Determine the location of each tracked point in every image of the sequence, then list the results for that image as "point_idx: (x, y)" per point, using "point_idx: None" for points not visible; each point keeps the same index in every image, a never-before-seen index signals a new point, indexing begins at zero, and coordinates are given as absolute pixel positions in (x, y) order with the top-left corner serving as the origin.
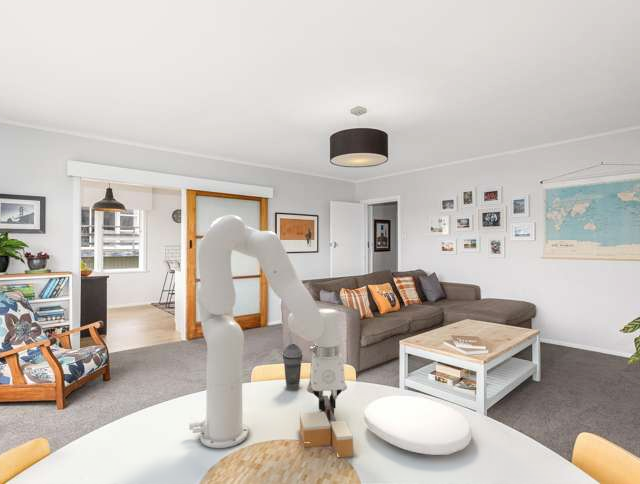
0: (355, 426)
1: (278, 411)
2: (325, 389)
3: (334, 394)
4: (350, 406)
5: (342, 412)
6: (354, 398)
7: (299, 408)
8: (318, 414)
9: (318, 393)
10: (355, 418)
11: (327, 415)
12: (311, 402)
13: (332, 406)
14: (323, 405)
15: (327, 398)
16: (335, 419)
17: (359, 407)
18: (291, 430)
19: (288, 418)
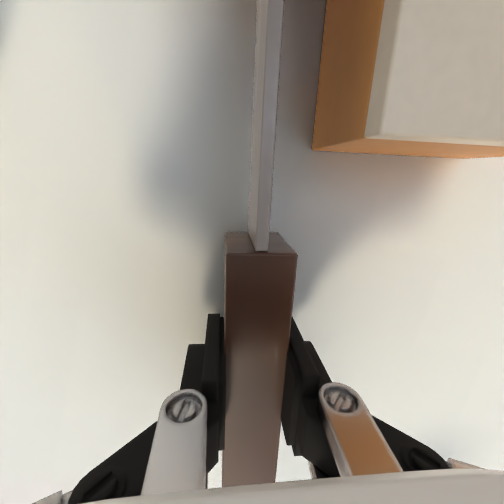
0: (79, 145)
1: (476, 393)
2: (370, 496)
3: (185, 437)
4: (73, 410)
5: (140, 347)
6: (32, 493)
7: (370, 412)
8: (475, 66)
9: (384, 456)
10: (62, 260)
11: (280, 241)
12: (292, 463)
13: (227, 311)
14: (296, 346)
15: (233, 445)
16: (268, 26)
17: (11, 395)
18: (499, 185)
19: (460, 320)
